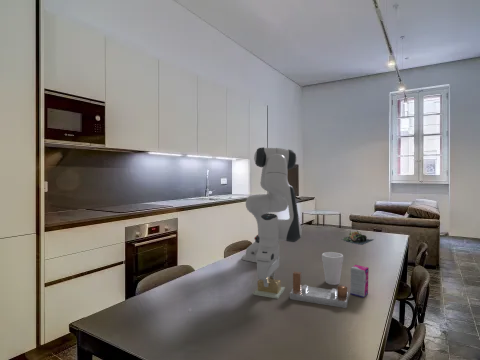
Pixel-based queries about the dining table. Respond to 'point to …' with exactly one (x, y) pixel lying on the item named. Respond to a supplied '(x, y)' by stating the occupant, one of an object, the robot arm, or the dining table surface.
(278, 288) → the tan upright box
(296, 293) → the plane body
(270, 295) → the sage mat
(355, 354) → the dining table surface
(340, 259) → the foam cup
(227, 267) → the dining table surface
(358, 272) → the supplement box
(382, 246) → the dining table surface
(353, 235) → the plated dish
